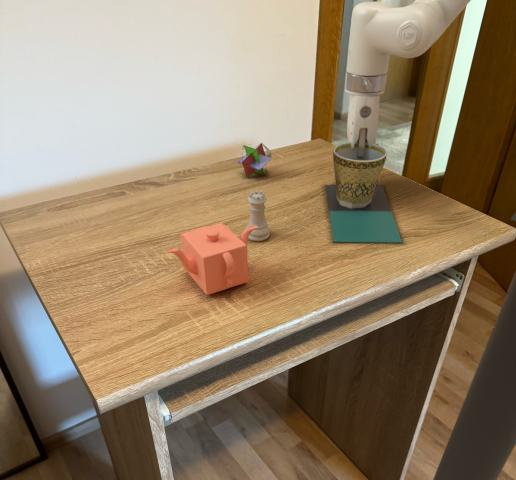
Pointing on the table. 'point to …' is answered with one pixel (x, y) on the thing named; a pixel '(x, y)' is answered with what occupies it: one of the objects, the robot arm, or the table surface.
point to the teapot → (215, 257)
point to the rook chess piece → (258, 217)
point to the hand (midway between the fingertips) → (354, 177)
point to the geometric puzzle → (255, 159)
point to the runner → (362, 220)
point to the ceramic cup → (357, 173)
